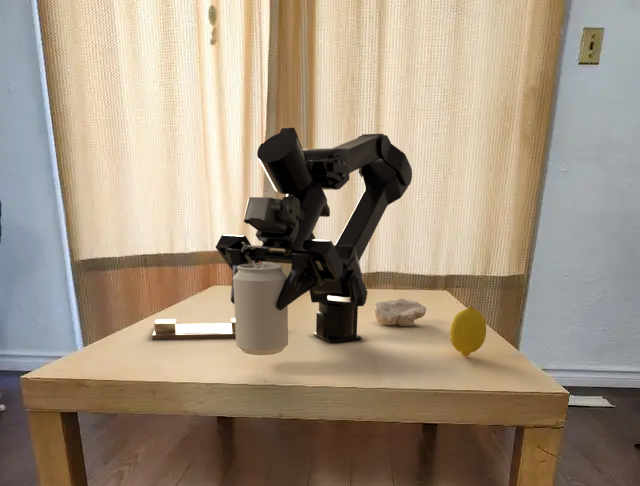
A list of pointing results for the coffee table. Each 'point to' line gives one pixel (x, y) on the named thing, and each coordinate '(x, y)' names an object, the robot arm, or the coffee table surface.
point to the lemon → (468, 331)
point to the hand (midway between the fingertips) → (255, 305)
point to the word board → (192, 330)
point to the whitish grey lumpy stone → (399, 312)
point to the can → (260, 309)
